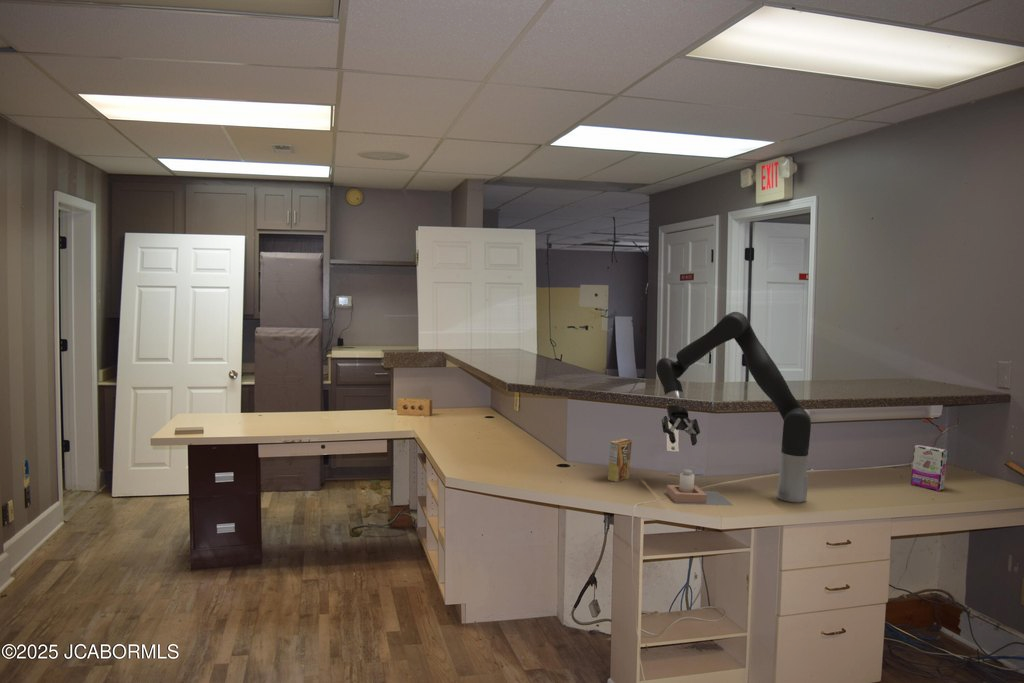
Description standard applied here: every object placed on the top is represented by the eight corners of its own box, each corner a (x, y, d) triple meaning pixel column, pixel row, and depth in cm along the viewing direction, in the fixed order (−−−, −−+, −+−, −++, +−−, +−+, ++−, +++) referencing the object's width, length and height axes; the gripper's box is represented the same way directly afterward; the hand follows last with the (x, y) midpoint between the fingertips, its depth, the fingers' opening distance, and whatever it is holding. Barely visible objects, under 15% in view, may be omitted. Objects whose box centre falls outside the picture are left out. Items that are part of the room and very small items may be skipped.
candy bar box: (944, 489, 299) (948, 449, 297) (939, 491, 295) (943, 451, 294) (914, 482, 307) (919, 443, 305) (909, 484, 304) (913, 445, 302)
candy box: (620, 476, 294) (623, 438, 293) (629, 478, 291) (632, 440, 290) (607, 479, 288) (609, 441, 286) (616, 482, 285) (619, 443, 283)
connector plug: (690, 495, 268) (692, 468, 267) (694, 500, 263) (696, 472, 262) (676, 495, 268) (678, 468, 267) (681, 499, 263) (683, 472, 262)
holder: (717, 494, 276) (718, 483, 275) (733, 508, 260) (734, 496, 259) (662, 493, 274) (663, 482, 273) (675, 507, 258) (676, 495, 258)
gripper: (663, 398, 280) (671, 437, 271) (697, 402, 284) (706, 440, 275) (655, 408, 286) (662, 446, 277) (688, 411, 290) (696, 449, 281)
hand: (684, 443), depth 276 cm, fingers open, 8 cm apart
